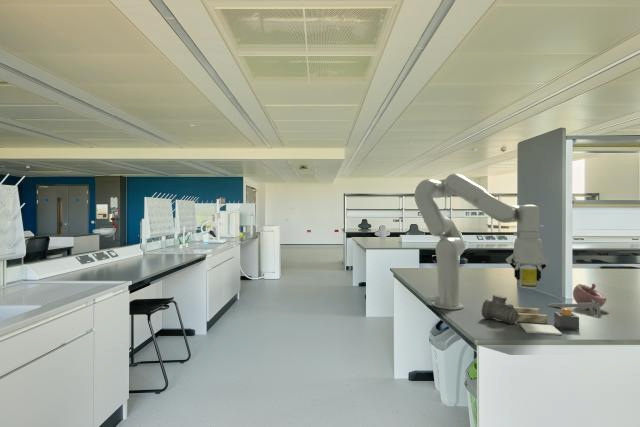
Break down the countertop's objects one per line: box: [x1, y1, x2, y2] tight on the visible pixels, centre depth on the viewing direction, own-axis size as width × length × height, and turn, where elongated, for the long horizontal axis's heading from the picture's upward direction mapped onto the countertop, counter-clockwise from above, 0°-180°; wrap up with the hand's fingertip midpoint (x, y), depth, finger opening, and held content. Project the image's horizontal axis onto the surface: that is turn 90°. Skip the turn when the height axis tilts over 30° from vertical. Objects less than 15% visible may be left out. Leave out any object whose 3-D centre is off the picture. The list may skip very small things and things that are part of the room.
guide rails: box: [514, 306, 548, 324], centre depth 147 cm, size 10×11×3 cm
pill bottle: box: [517, 264, 538, 290], centre depth 147 cm, size 6×6×12 cm
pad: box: [519, 322, 563, 336], centre depth 132 cm, size 11×10×1 cm
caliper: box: [546, 300, 602, 317], centre depth 160 cm, size 21×1×6 cm, turn 32°
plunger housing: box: [553, 311, 580, 332], centre depth 134 cm, size 6×6×5 cm
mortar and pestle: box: [572, 283, 607, 310], centre depth 162 cm, size 12×12×12 cm
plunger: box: [560, 307, 572, 316], centre depth 134 cm, size 3×3×5 cm
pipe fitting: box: [481, 294, 518, 325], centre depth 143 cm, size 12×8×10 cm
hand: (527, 279), depth 147 cm, fingers closed on pill bottle, 6 cm apart
